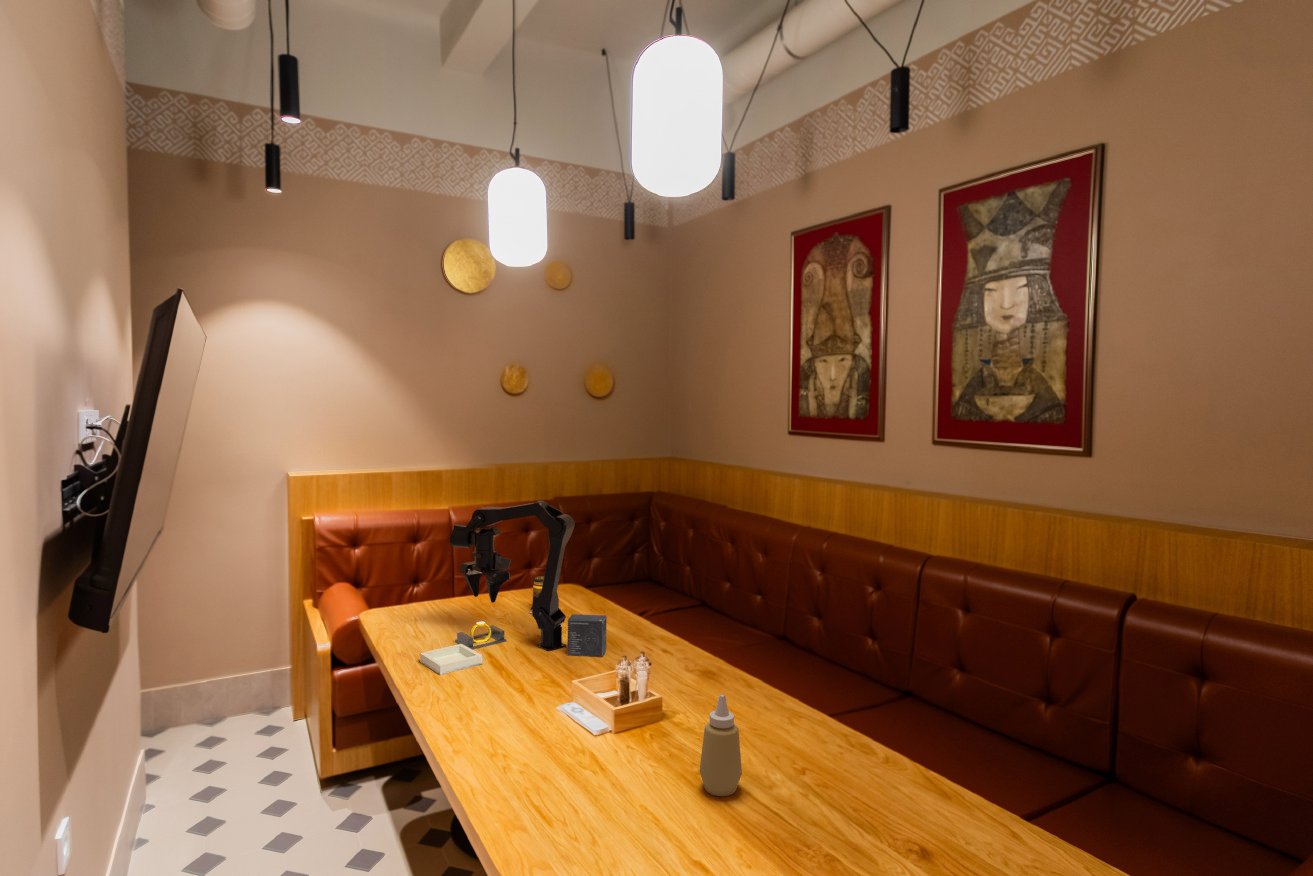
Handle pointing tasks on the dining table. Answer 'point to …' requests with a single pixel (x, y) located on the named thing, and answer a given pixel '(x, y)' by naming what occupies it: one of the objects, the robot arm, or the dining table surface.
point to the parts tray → (450, 659)
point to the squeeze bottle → (721, 752)
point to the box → (587, 635)
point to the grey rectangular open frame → (468, 640)
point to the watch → (481, 625)
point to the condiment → (537, 585)
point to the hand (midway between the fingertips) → (484, 599)
